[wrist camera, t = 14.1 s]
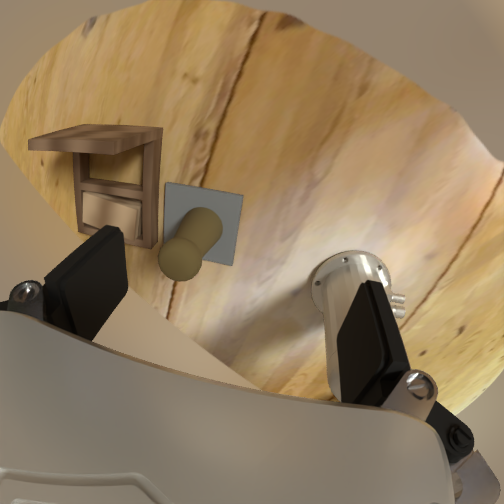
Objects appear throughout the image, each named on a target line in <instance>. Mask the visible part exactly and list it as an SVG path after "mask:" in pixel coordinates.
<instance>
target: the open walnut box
mask: <svg viewBox="0 0 504 504" xmlns="http://www.w3.org/2000/svg"><path fill="white" fill-rule="evenodd" d="M162 134H163V128H160V127H146V126H129V125H96V124H83V125H79V126H75V127H71V128H67V129H63V130H59V131H55V132H52V133H48V134H45V135H42V136H38V137H35V138H32V139H29V140H28V150H37V151H64V152H73V172H74V190H75V203H76V214H77V223H78V231H79V232H81V233H85V234H89V235H94V234H95V233H96V232H97V231H99V230H100V229H99V228H97V227H94V226H91V225H89V224H86V223H84V222H83V192H85V191H92V192H98V193H104V194H110V195H116V196H122V197H128V198H134V199H140V200H142V224H143V232H142V233H141V234H140V235H139V236H138V237H137V238H136V239H135V240H134V241H132V240H129V239H127V238H124V243H126V244H130V245H135V246H139V247H143V248H148V249H152V248H153V247H154V246H155V244H156V243H157V242H158V199H159V176H160V160H161V146H162ZM142 144H144V163H143V185H137V184H130V183H123V182H116V181H109V180H102V179H94V178H89V153H96V154H108V155H115V154H118V153H120V152H123V151H126V150H128V149H131V148H134V147H136V146H139V145H142Z"/></svg>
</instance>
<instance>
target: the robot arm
mask: <svg viewBox="0 0 504 504" xmlns="http://www.w3.org/2000/svg"><path fill="white" fill-rule="evenodd" d="M345 257H346V258H345ZM44 280H45V284H44V285H43V286H42V285H41V284H40V283H39V282H38V281H34V280H28V281H24V282H21V283H19V284H18V285H16V286H15V287H14V288H13V289H12V291H11V292H10V295H9V300H7V301H3V302H0V504H495V502H496V501H497V499H498V498H499V495H500V491H501V490H500V483H499V481H498V479H497V478H496V476H495V475H494V473H493V472H492V470H491V469H490V467H489V466H488V465H487V463H486V461H485V460H484V458H483V457H482V456H481V454H480V453H479V451H478V450H476V451H475V452H474V451H473V447H474V437H473V434H472V432H471V430H470V429H469V428H468V426H467V425H465V424H464V423H463V422H462V421H461V420H459V419H458V418H457V417H456V416H454V415H453V414H452V413H451V412H450V411H448V410H447V409H446V408H445V407H443V406H442V405H441V404H440V403H439V402H437V401H436V399H437V395H438V387H437V385H436V382H435V381H434V380H433V378H432V377H431V376H430V375H429V374H427V373H425V372H424V371H421V370H417V369H415V370H412V369H411V366H410V362H409V359H408V356H407V353H406V349H405V346H404V343H403V340H402V337H401V334H400V331H399V328H398V325H397V322H396V319H395V318H400V319H402V318H403V317H404V315H405V308H404V307H402V306H396V305H394V306H393V305H390V302H391V301H392V302H395V303H401V304H403V303H404V301H405V295H402V294H394V293H393V292H392V291H391V277H390V274H389V271H388V269H387V267H386V265H385V264H384V263H383V262H382V260H380V259H379V258H378V257H376V256H375V255H373V254H370V253H367V252H363V251H348V252H343V253H340V254H337V255H335V256H333V257H331V258H330V259H328V260H327V261H325V262H324V263H323V264H322V265H321V266H320V267H319V268H318V270H317V271H316V273H315V275H314V277H313V280H312V285H311V294H312V299H313V302H314V304H315V306H316V307H317V308H318V310H319V311H321V312H322V313H323V316H324V329H325V345H326V364H327V380H328V384H329V387H330V389H331V391H332V393H333V394H334V396H335V397H336V398H337V399H338V400H339V401H340V402H333V401H325V400H317V399H310V398H303V397H296V396H290V395H283V394H277V393H272V392H266V391H261V390H256V389H251V388H246V387H240V386H236V385H231V384H227V383H223V382H219V381H214V380H210V379H206V378H203V377H199V376H195V375H191V374H188V373H184V372H180V371H177V370H173V369H170V368H167V367H163V366H160V365H157V364H154V363H151V362H147V361H144V360H141V359H138V358H135V357H132V356H130V355H127V354H124V353H121V352H118V351H115V350H113V349H110V348H107V347H104V346H102V345H100V344H97V343H94V342H92V340H93V339H94V337H95V336H96V334H97V333H98V332H99V330H100V329H101V327H102V326H103V325H104V323H105V322H106V320H107V319H108V318H109V316H110V315H111V314H112V312H113V311H114V309H115V308H116V307H117V305H118V304H119V303H120V301H121V300H122V299H123V297H124V296H125V295H126V293H127V291H128V279H127V270H126V258H125V245H124V234H123V232H122V231H121V230H120V228H119V227H116V226H111V225H105V226H104V227H102V228H101V229H100V230H99V231H97V232H96V233H95V234H94V235H92V236H91V237H90V238H89V239H88V240H86V241H85V242H84V243H83V244H82V245H80V246H79V247H78V248H77V249H76V250H74V251H73V252H72V253H71V254H70V255H69V256H68V257H66V258H65V259H64V260H63V261H62V262H61V263H60V264H58V265H57V266H56V268H54V269H53V270H52V271H51V272H50V273H49V274H48V275H47V276H46V277H44Z"/></svg>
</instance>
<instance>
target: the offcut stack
mask: <svg viewBox="0 0 504 504" xmlns="http://www.w3.org/2000/svg"><path fill="white" fill-rule="evenodd" d="M83 222H84V223H86V224H89V225H91V226H94V227H97V228H99V229H101V228H102V227H104V226H105V225H111V226H116V227H119V228H120V230H121V231H122V232H123V234H124V238H127V239H129V240H132V241H134V240H135V239H136V238H137V237H138V236H139V235H140V234H141V233H142V232H143V224H142V200H139V199H134V198H128V197H122V196H116V195H110V194H104V193H98V192H92V191H85V192H83Z"/></svg>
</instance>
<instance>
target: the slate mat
mask: <svg viewBox="0 0 504 504" xmlns="http://www.w3.org/2000/svg"><path fill="white" fill-rule="evenodd" d="M242 201H243V195H240V194H234V193H229V192H224V191H218V190H213V189H207V188H201V187H195V186H189V185H183V184H177V183H171V182H167V183H166V188H165V211H164V244H165V242H167V241H168V240H170V239H172V238H174V236H175V234H176V232H177V230H178V228H179V226H180V224H181V222H182V220H183V218H184V216H185V215H186V213H187V212H188V211H189V210H191V209H193V208H197V207H204V208H208V209H210V210H212V211H214V212H215V213H216V214H217V215H218V216H219V218H220V219H221V221H222V225H223V233H222V235H221V238H220V239H219V240H218V241H217V242H216V243H215V245H214V246H213V247H212V248H211V249H210V250H209V251H208V252H207V253H206V254H205V256H204V257H203V258H202V260H207V261H211V262H216V263H221V264H225V265H230V266H232V265H233V260H234V253H235V246H236V240H237V233H238V227H239V220H240V214H241V208H242Z"/></svg>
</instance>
